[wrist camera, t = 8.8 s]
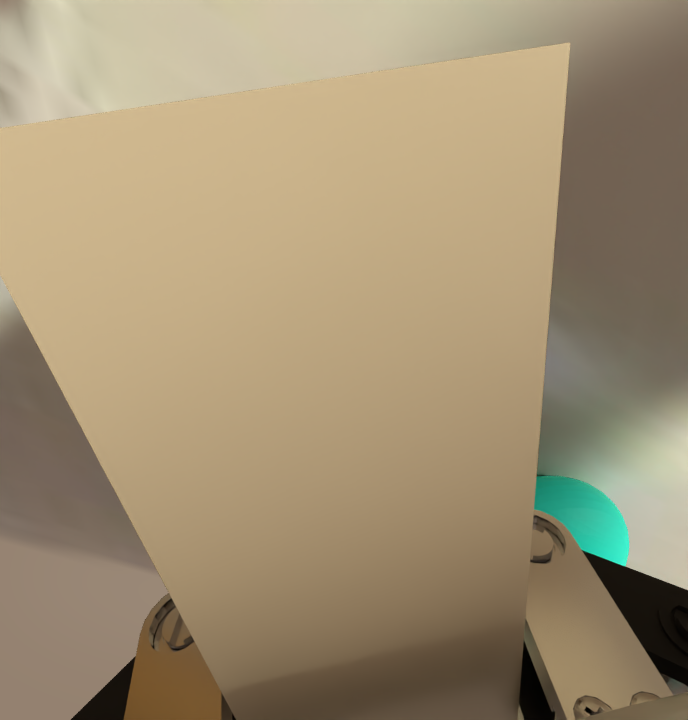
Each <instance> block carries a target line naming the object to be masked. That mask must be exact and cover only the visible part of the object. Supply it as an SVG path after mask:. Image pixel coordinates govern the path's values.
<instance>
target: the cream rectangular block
mask: <svg viewBox="0 0 688 720" xmlns="http://www.w3.org/2000/svg"><path fill="white" fill-rule="evenodd" d="M569 53H570V42H569V43H563V44H556V45H549V46H543V47H536V48H529V49H523V50H516V51H510V52H503V53H496V54H490V55H483V56H476V57H470V58H463V59H456V60H450V61H443V62H437V63H430V64H423V65H417V66H410V67H403V68H397V69H390V70H383V71H377V72H370V73H364V74H357V75H350V76H344V77H337V78H330V79H324V80H317V81H310V82H304V83H297V84H291V85H284V86H277V87H271V88H264V89H257V90H251V91H244V92H237V93H231V94H224V95H218V96H211V97H204V98H198V99H191V100H184V101H178V102H171V103H164V104H158V105H151V106H144V107H138V108H131V109H125V110H118V111H111V112H105V113H98V114H91V115H85V116H78V117H71V118H65V119H58V120H52V121H45V122H38V123H32V124H25V125H18V126H12V127H5V128H0V276H1V277H2V279H3V281H4V283H5V285H6V287H7V289H8V291H9V293H10V294H11V296H12V298H13V300H14V302H15V304H16V306H17V308H18V309H19V311H20V313H21V315H22V317H23V319H24V321H25V323H26V325H27V326H28V328H29V330H30V332H31V334H32V336H33V338H34V340H35V342H36V343H37V345H38V347H39V349H40V351H41V353H42V355H43V357H44V358H45V360H46V362H47V364H48V366H49V368H50V370H51V372H52V374H53V375H54V377H55V379H56V381H57V383H58V385H59V387H60V389H61V391H62V392H63V394H64V396H65V398H66V400H67V402H68V404H69V406H70V408H71V409H72V411H73V413H74V415H75V417H76V419H77V421H78V423H79V424H80V426H81V428H82V430H83V432H84V434H85V436H86V438H87V440H88V441H89V443H90V445H91V447H92V449H93V451H94V453H95V455H96V457H97V458H98V460H99V462H100V464H101V466H102V468H103V470H104V472H105V473H106V475H107V477H108V479H109V481H110V483H111V485H112V487H113V489H114V490H115V492H116V494H117V496H118V498H119V500H120V502H121V504H122V506H123V507H124V509H125V511H126V513H127V515H128V517H129V519H130V521H131V523H132V524H133V526H134V528H135V530H136V532H137V534H138V536H139V538H140V539H141V541H142V543H143V545H144V547H145V549H146V551H147V553H148V555H149V556H150V558H151V560H152V562H153V564H154V566H155V568H156V570H157V572H158V573H159V575H160V577H161V579H162V581H163V583H164V585H165V587H166V588H167V590H168V592H169V594H170V596H171V598H172V600H173V602H174V604H175V605H176V607H177V609H178V611H179V613H180V615H181V617H182V619H183V621H184V622H185V624H186V626H187V628H188V630H189V632H190V634H191V636H192V637H193V639H194V641H195V643H196V645H197V647H198V649H199V651H200V653H201V654H202V656H203V658H204V660H205V662H206V664H207V666H208V668H209V670H210V671H211V673H212V675H213V677H214V679H215V681H216V683H217V685H218V687H219V688H220V690H221V692H222V694H223V696H224V698H225V700H226V702H227V703H228V705H229V707H230V709H231V711H232V713H233V715H234V717H235V719H236V720H518V707H519V695H520V682H521V669H522V656H523V643H524V631H525V618H526V605H527V592H528V579H529V566H530V554H531V541H532V528H533V515H534V502H535V489H536V477H537V464H538V451H539V438H540V425H541V412H542V400H543V387H544V374H545V361H546V348H547V336H548V323H549V310H550V297H551V284H552V271H553V259H554V246H555V233H556V220H557V207H558V194H559V182H560V169H561V156H562V143H563V130H564V117H565V105H566V92H567V79H568V66H569Z"/></svg>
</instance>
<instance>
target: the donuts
mask: <svg viewBox="0 0 688 720" xmlns="http://www.w3.org/2000/svg"><path fill="white" fill-rule="evenodd" d="M534 510H538V511H542V512H544V513H546V514H549V515H551V516H553V517H554V518H556V519H557V520H558V521H560V522H561V523H563V524H564V526H565V527H566V528H567V529H568V530H569V531H570V533H571V534H572V536H573V537H574V539H575V540H576V542H577V544H578V545H579V547H580V548H581V550H583V551H586V552H588V553H591V554H594V555H596V556H599V557H601V558H604V559H607V560H609V561H612V562H615V563H617V564H620V565H622V566H626V562H627V558H628V553H629V537H628V530H627V527H626V524H625V521H624V519H623V516H622V515H621V513H620V511H619V510H618V508H617V507H616V506H615V504H614V503H613V502H612V501H611V500H610V499H609V498H608V497H607V496H606V495H605V494H604V493H602V492H601V491H600V490H598V489H596V488H595V487H593V486H591V485H589V484H587V483H585V482H582V481H580V480H576V479H573V478H568V477H563V476H538V477H536V489H535V502H534Z"/></svg>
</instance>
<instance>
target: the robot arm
mask: <svg viewBox="0 0 688 720" xmlns="http://www.w3.org/2000/svg"><path fill="white" fill-rule="evenodd" d="M71 720H236V719H235V717H234V715H233V713H232V711H231V709H230V707H229V705H228V703H227V702H226V700H225V698H224V696H223V694H222V692H221V690H220V688H219V687H218V685H217V683H216V681H215V679H214V677H213V675H212V673H211V671H210V670H209V668H208V666H207V664H206V662H205V660H204V658H203V656H202V654H201V653H200V651H199V649H198V647H197V645H196V643H195V641H194V639H193V637H192V636H191V634H190V632H189V630H188V628H187V626H186V624H185V622H184V621H183V619H182V617H181V615H180V613H179V611H178V609H177V607H176V605H175V604H174V602H173V600H172V598H171V596H170V594H169V593H168V594H167V595H165V596H164V597H163V598H162V599H161V600H160V601H159V602H158V603H157V604H156V605H155V606H154V608H152V610H151V611H150V613H149V615H148V616H147V618H146V619H145V621H144V624H143V627H142V630H141V633H140V637H139V642H138V647H137V653H136V656H135V657H134V658H133V659H132V660H131V661H130V662H129V663H128V664H127V665H126V666H125V667H124V668H123V669H122V670H121V671H120V672H119V673H118V674H117V675H116V676H115V677H114V678H113V679H112V680H111V681H110V682H109V683H108V684H107V685H106V686H105V687H104V688H103V689H102V690H101V691H100V692H99V693H98V694H97V695H95V697H94V698H92V699H91V701H89V702H88V703H87V704H86V705H85V706H84V707H83V708H82V709H81V710H80V711H79V712H78V713H77V714H76V715H75V716H74V717H73V718H72V719H71ZM518 720H688V590H685V589H683V588H680V587H678V586H675V585H672V584H670V583H667V582H664V581H662V580H659V579H657V578H654V577H651V576H649V575H646V574H643V573H641V572H638V571H636V570H633V569H630V568H628V567H625V566H622V565H620V564H617V563H615V562H612V561H609V560H607V559H604V558H601V557H599V556H596V555H594V554H591V553H588V552H586V551H583V550H581V548H580V547H579V545H578V544H577V542H576V540H575V539H574V537H573V536H572V534H571V533H570V531H569V530H568V529H567V528H566V527H565V526H564V524H563V523H561V522H560V521H558V520H557V519H556V518H554V517H553V516H551V515H549V514H546V513H544V512H542V511H538V510H534V515H533V528H532V541H531V554H530V566H529V579H528V592H527V605H526V618H525V631H524V643H523V656H522V669H521V682H520V695H519V707H518Z"/></svg>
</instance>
